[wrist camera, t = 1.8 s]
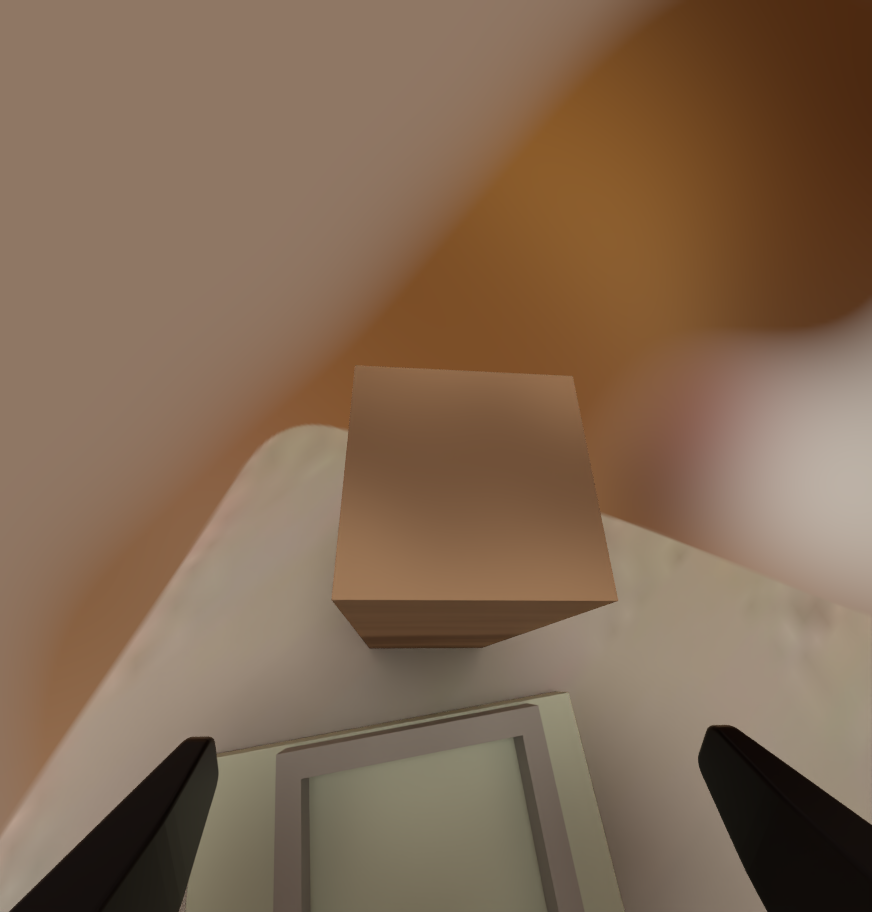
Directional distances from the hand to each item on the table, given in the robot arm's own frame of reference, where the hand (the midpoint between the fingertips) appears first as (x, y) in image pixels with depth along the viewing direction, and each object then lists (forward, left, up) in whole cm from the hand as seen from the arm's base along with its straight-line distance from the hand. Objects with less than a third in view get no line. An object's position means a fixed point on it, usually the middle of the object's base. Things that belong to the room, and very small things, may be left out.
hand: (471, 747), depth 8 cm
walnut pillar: (+5, -1, -11) cm, 12 cm away
